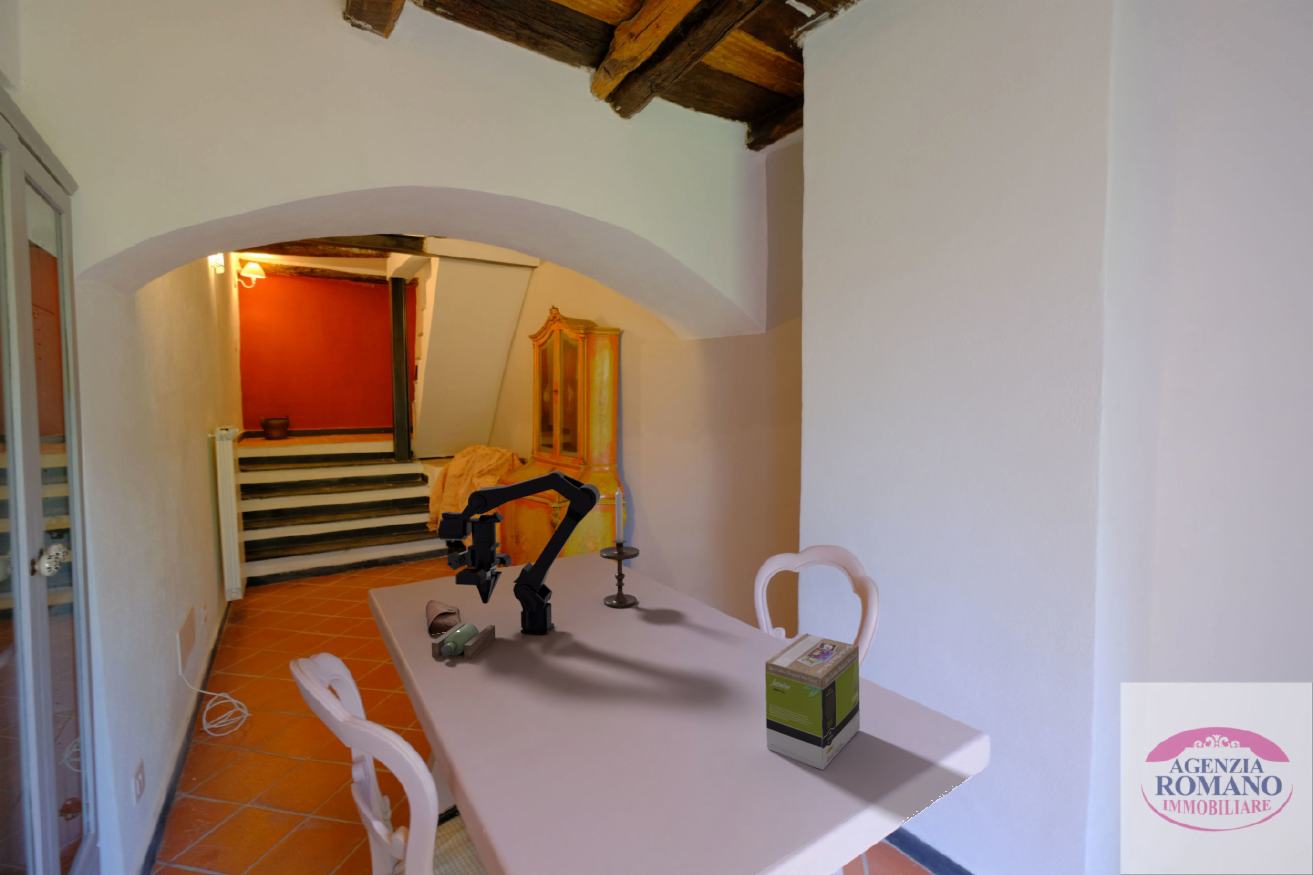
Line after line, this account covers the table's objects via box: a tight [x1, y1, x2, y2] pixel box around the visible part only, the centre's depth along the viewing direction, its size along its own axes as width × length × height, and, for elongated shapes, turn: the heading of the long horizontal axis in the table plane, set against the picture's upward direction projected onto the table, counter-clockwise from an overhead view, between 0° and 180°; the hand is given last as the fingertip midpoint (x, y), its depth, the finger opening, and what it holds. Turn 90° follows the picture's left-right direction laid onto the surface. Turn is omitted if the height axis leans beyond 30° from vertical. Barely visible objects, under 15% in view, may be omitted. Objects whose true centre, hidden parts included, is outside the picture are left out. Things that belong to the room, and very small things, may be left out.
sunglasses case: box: [425, 599, 462, 635], centre depth 156 cm, size 18×7×7 cm
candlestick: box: [599, 476, 640, 609], centre depth 168 cm, size 11×11×35 cm
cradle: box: [431, 622, 496, 660], centre depth 139 cm, size 9×12×3 cm
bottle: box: [441, 623, 480, 657], centre depth 137 cm, size 5×5×10 cm
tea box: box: [764, 633, 861, 771], centre depth 100 cm, size 15×10×15 cm
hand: (485, 603), depth 150 cm, fingers closed
